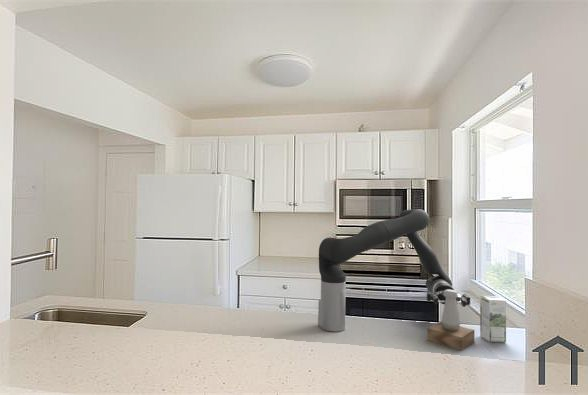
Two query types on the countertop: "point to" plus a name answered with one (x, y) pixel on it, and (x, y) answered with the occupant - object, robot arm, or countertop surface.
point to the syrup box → (493, 318)
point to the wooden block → (451, 336)
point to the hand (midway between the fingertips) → (450, 302)
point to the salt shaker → (450, 311)
